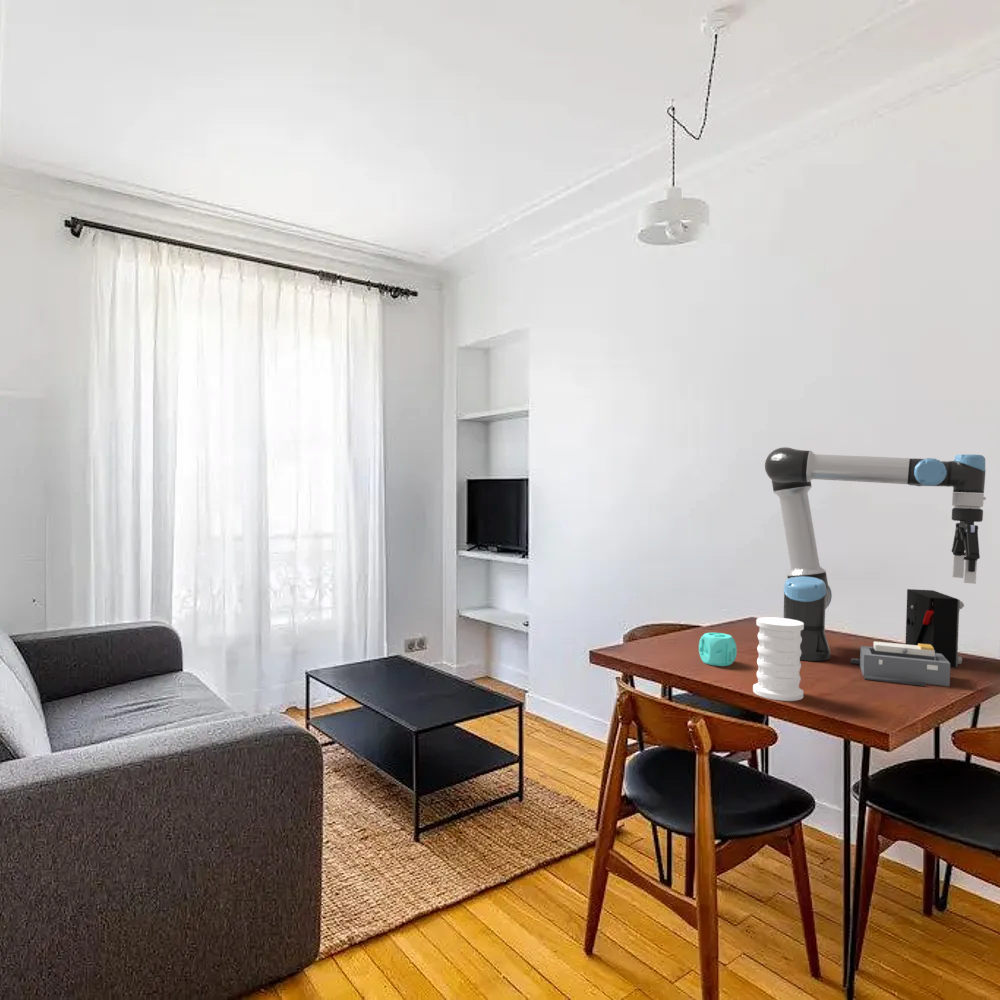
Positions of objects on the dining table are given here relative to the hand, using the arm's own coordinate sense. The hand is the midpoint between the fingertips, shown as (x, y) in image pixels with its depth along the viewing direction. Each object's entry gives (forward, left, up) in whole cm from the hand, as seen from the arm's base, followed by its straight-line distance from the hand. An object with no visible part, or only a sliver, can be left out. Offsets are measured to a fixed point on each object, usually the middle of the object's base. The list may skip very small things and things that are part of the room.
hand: (963, 580), depth 202 cm
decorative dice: (-65, -30, -25) cm, 76 cm away
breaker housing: (-17, -21, -25) cm, 37 cm away
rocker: (-17, -21, -18) cm, 32 cm away
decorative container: (-48, -55, -25) cm, 77 cm away
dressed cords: (-17, -11, -25) cm, 33 cm away
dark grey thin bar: (-20, -30, -25) cm, 44 cm away
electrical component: (-6, +5, -25) cm, 27 cm away
